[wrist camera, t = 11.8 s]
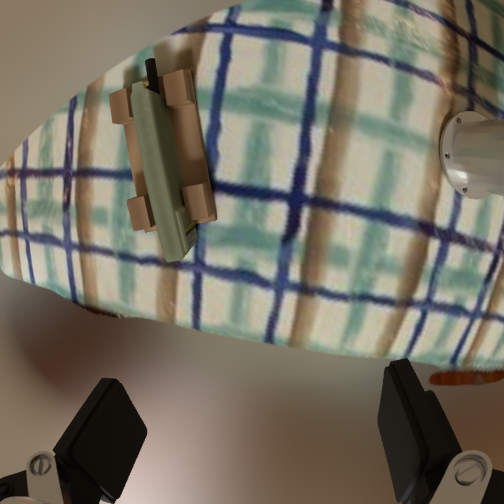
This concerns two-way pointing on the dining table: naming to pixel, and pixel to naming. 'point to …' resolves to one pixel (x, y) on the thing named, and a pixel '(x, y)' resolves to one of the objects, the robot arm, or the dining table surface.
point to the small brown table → (187, 144)
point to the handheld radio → (161, 166)
